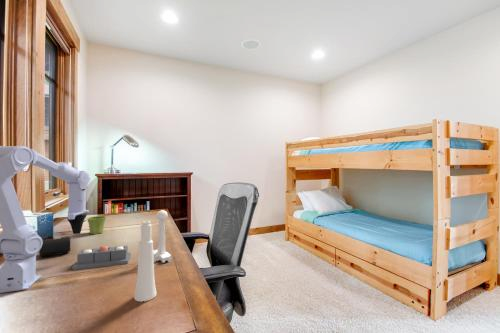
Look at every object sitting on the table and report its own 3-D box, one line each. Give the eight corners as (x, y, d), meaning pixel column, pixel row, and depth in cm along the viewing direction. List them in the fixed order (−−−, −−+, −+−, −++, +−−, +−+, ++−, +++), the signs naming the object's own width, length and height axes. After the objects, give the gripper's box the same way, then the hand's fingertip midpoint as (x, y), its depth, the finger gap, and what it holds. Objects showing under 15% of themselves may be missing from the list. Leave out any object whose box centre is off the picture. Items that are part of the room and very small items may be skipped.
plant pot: (88, 231, 136) (88, 216, 136) (107, 229, 140) (107, 215, 140) (84, 236, 128) (85, 219, 128) (105, 234, 132) (105, 218, 132)
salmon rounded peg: (107, 259, 93) (107, 247, 93) (98, 260, 92) (98, 248, 92) (108, 256, 95) (108, 245, 95) (100, 257, 94) (100, 246, 94)
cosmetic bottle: (160, 295, 70) (161, 221, 70) (139, 304, 65) (140, 224, 65) (150, 288, 74) (151, 218, 74) (130, 296, 69) (131, 221, 69)
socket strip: (127, 263, 92) (127, 251, 92) (72, 270, 86) (72, 256, 86) (130, 255, 101) (130, 243, 101) (80, 260, 95) (80, 248, 95)
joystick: (173, 260, 96) (174, 211, 96) (155, 266, 90) (156, 213, 90) (159, 253, 103) (160, 207, 103) (142, 258, 98) (143, 210, 98)
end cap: (39, 259, 95) (39, 243, 95) (41, 254, 101) (41, 238, 101) (70, 254, 101) (70, 238, 101) (70, 249, 107) (70, 234, 107)
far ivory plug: (122, 259, 95) (122, 248, 95) (114, 260, 94) (115, 249, 94) (123, 257, 97) (124, 246, 97) (116, 258, 96) (116, 246, 96)
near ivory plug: (90, 263, 91) (90, 251, 91) (81, 264, 90) (82, 252, 90) (92, 260, 94) (92, 249, 94) (84, 261, 93) (84, 249, 93)
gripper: (83, 202, 91) (82, 237, 91) (93, 197, 105) (93, 228, 105) (61, 203, 89) (60, 239, 88) (74, 198, 102) (74, 229, 102)
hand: (76, 233), depth 96 cm, fingers closed
